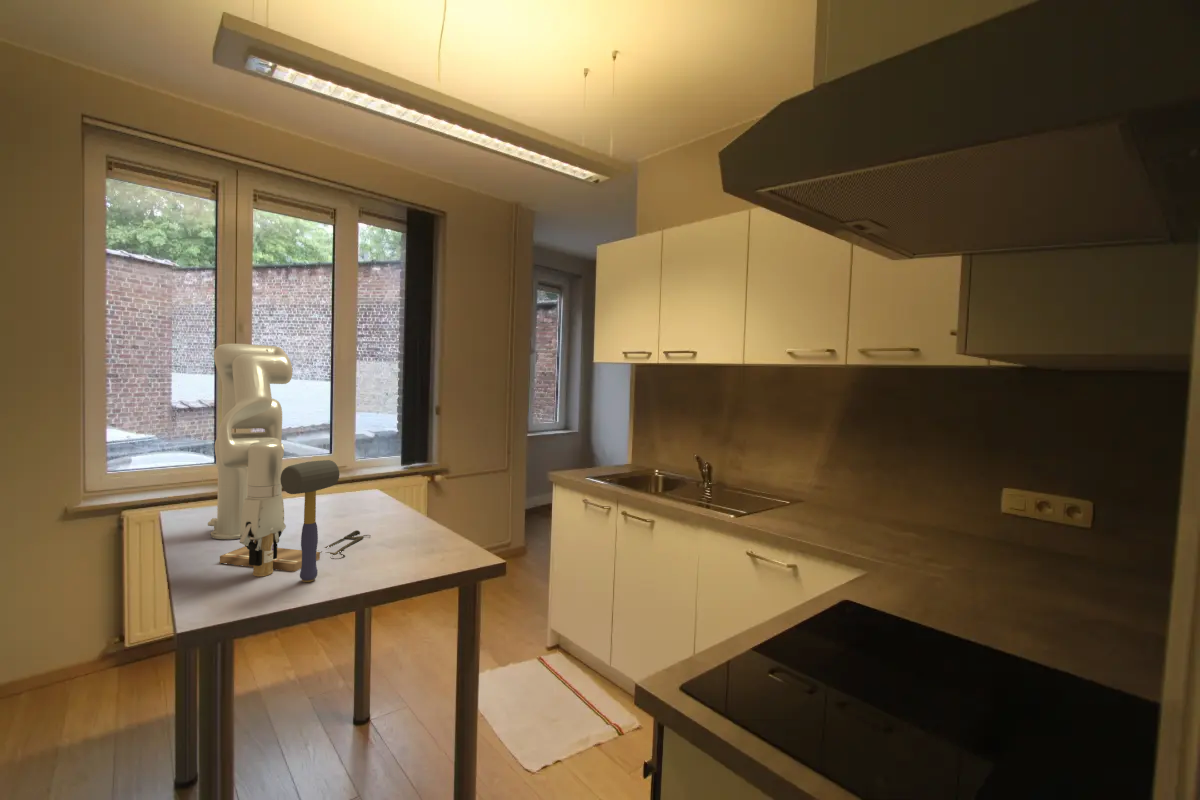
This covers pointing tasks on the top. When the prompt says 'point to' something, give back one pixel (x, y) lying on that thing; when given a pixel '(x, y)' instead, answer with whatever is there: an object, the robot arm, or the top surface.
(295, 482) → the rubber mallet
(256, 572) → the sprinkles bottle
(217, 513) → the robot arm
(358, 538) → the hacksaw
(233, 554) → the board
